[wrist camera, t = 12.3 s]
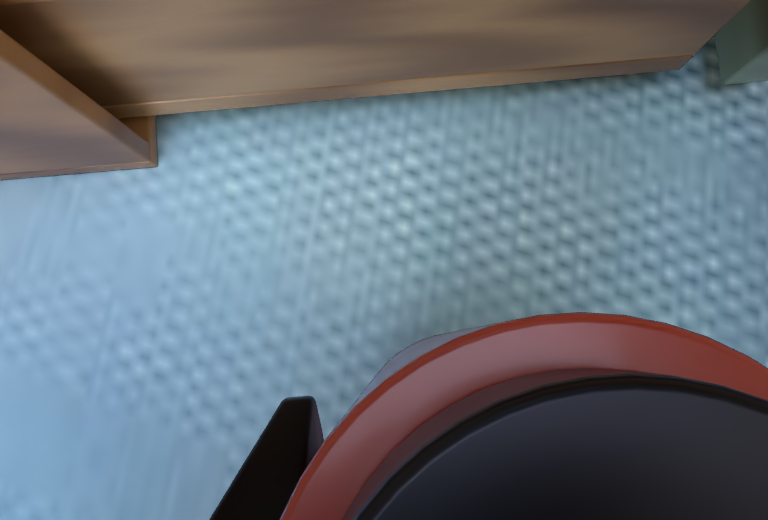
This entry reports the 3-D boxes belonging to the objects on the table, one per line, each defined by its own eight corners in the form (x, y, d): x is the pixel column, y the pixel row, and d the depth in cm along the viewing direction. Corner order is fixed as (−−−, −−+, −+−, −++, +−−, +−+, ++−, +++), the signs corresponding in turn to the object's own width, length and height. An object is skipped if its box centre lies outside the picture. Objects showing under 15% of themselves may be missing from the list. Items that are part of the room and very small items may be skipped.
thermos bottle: (404, 594, 13) (414, 1494, 3) (320, 381, 14) (85, 500, 4) (611, 505, 13) (1329, 1067, 3) (519, 298, 14) (853, 175, 4)
